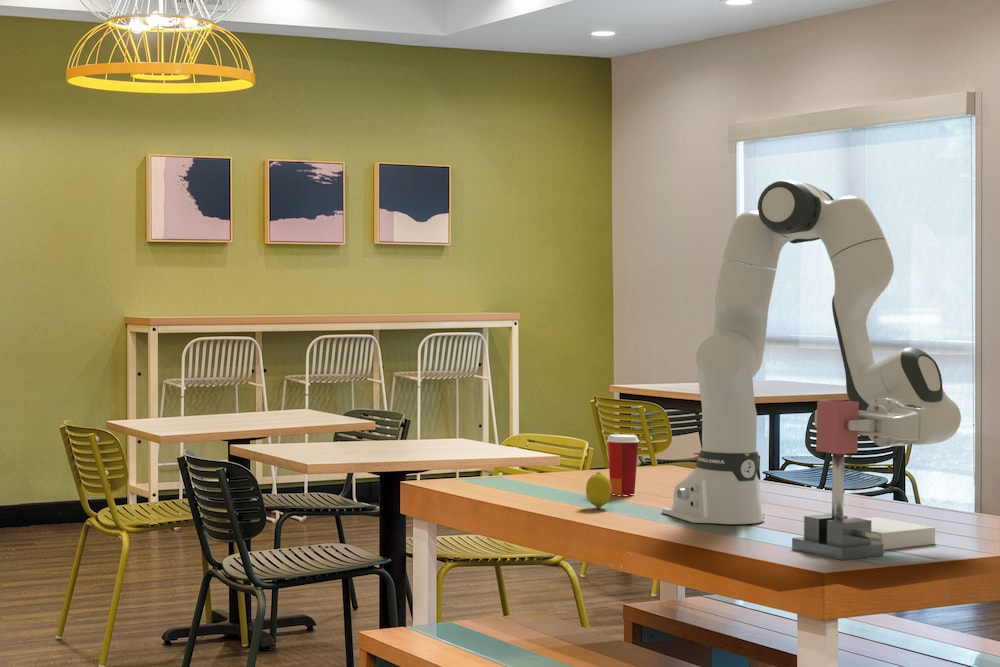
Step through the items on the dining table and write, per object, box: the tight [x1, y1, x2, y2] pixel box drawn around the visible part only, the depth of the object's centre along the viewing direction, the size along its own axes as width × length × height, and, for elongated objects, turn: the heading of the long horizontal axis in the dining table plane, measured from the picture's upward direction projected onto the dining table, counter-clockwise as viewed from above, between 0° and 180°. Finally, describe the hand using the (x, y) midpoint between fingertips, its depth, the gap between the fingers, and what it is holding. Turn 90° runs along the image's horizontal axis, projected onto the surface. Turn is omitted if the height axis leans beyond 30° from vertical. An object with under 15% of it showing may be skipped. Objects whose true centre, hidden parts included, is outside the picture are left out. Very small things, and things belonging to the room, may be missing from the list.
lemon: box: [585, 471, 612, 510], centre depth 267 cm, size 6×6×8 cm
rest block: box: [861, 516, 936, 551], centre depth 230 cm, size 14×14×3 cm
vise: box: [791, 453, 884, 561], centre depth 216 cm, size 16×10×18 cm, turn 30°
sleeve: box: [815, 399, 859, 455], centre depth 218 cm, size 5×5×9 cm
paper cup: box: [606, 433, 640, 495], centre depth 290 cm, size 8×8×14 cm
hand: (833, 423), depth 217 cm, fingers closed on sleeve, 5 cm apart
